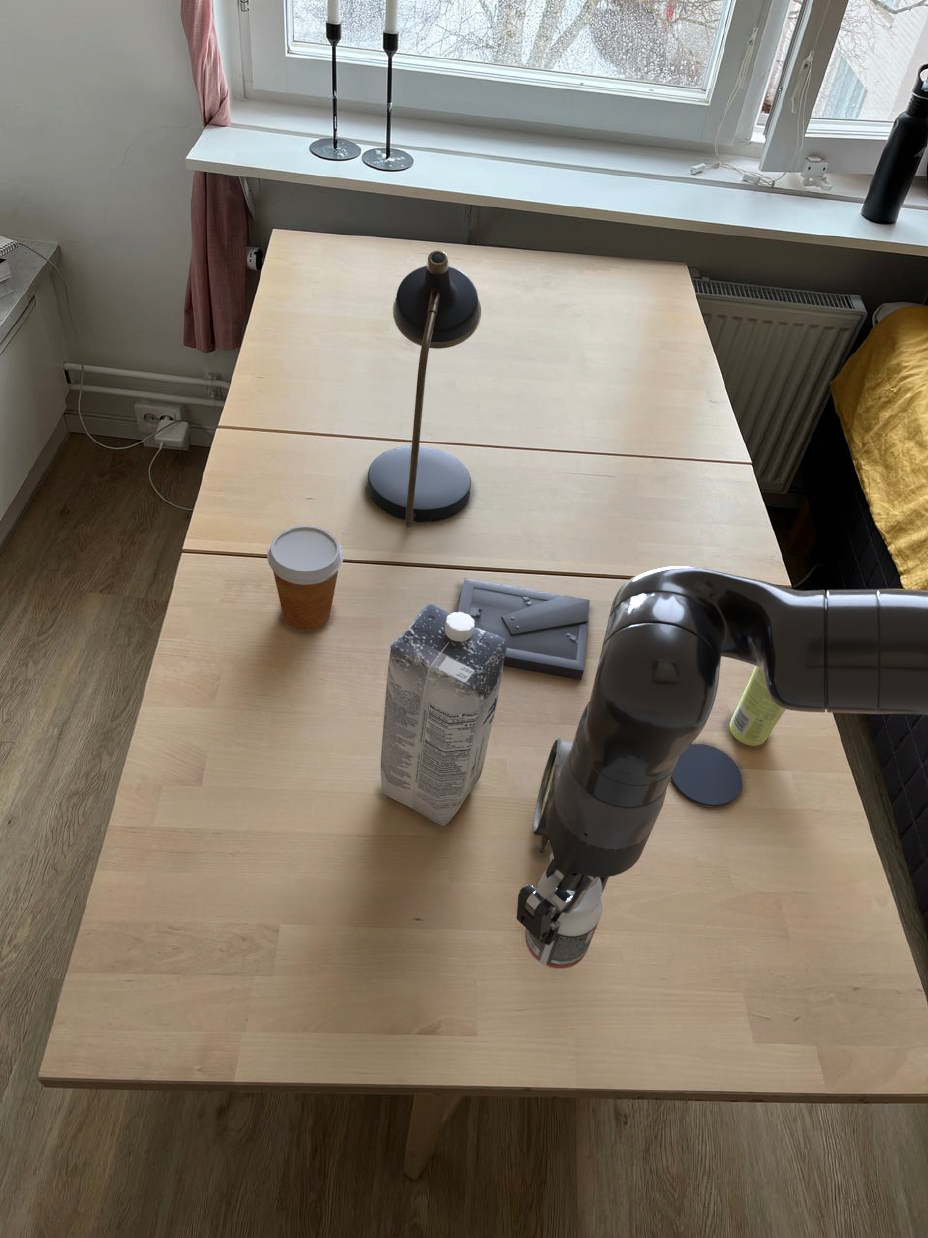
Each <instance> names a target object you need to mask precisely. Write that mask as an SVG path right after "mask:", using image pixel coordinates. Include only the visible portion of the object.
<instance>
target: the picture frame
mask: <svg viewBox="0 0 928 1238" xmlns="http://www.w3.org/2000/svg"><path fill="white" fill-rule="evenodd" d="M590 603H591V600H590V599H587V598H582V597H578V596H577V597H576V596H571V595H567V594H566V595H565V594H564V595H563V594H558V593H552V592H545V591H540V590H535V589H530V588H523V587H519V586H518V587H517V586H514V585H513V586H512V585H506V584H500V583H494V582H489V581H484V580H479V579H473V578H467V577H464V579H463V584H462V588H461V593H460V598H459V603H458V608H457V611H456V613H458V612H463V613H464V614H468V615H470V616H471V618H472V619H474V621H475V622H474V627H475V628H478V629H481V630H484V631H487V632H489V633H492V634H495V635H498V636H500V637H502V638H504V639H505V640H506V643H507V644H506V653H505V657H504V663H503V667H507V668H512V669H517V670H521V671H522V670H523V671H528V672H534V673H540V674H545V675H551V676H555V677H562V678H567V679H573V680H578V681H582V679H583V676H584V673H585V664H586V663H585V661H586V649H587V640H588V639H587V638H588V626H589V615H590Z"/></svg>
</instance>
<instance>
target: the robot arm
mask: <svg viewBox="0 0 928 1238" xmlns="http://www.w3.org/2000/svg"><path fill="white" fill-rule="evenodd" d="M722 657H723V658H729V659H733V660H736V661H740V662H743V663H747V664H750V665H753V666H754V667H755V666H758V667H759V668H761V670H762V671H763V675H764V680H765V684H766V688H767V690H768V693H769V695H770V697H771V698H772V700H773V701H774V702H775V703H776V704H777V705H778V706H780V707H782V708H785V709H786V710H789V711H795V712H803V713H825V712H827V713H828V714H862V715H864V714H865V715H900V716H903V715H905V716H927V717H928V590H923V589H922V590H921V589H911V588H910V589H909V588H908V589H907V588H863V589H862V588H859V589H857V588H854V589H853V588H849V589H827V590H825V589H811V590H810V589H809V590H807V589H806V590H804V589H803V590H802V589H801V590H800V589H795V588H791V587H786V586H782V585H778V584H775V583H771V582H768V581H765V580H760V579H756V578H750V577H746V576H741V575H736V574H731V573H727V572H723V571H717V570H713V569H708V568H704V567H696V566H688V565H687V566H686V565H673V566H672V565H671V566H663V567H657V568H653V569H650V570H646V571H644V572H641V573H639V574H637V575H635V576H633V577H631V578H629V579H628V580H627V581H625V582H624V583H623V584H622V585H621V586H620V588H619V589H618V590H617V592H616V594H615V596H614V598H613V600H612V602H611V606H610V611H609V614H608V620H607V625H606V630H605V634H604V638H603V642H602V645H601V651H600V655H599V660H598V664H597V669H596V673H595V677H594V682H593V684H592V685H593V686H592V690H591V693H590V694H591V695H590V699H589V701H588V702H587V704H586V706H585V707H584V709H583V712H582V714H581V716H580V719H579V721H578V724H577V727H576V730H575V733H574V734H575V735H574V738H573V741H572V742H573V744H572V748H571V751H570V752H569V754H568V756H567V758H566V760H565V762H564V764H563V766H562V769H561V772H560V776H559V779H558V783H557V786H556V789H555V793H554V796H553V800H552V803H551V806H550V810H549V813H548V817H547V822H546V832H547V837H548V843H549V846H550V849H551V853H550V855H549V863H548V864H547V866H546V868H545V869H544V872H543V873H542V875H541V877H540V879H538V881H537V888H536V887H535V886H533V885H530V884H526V885H524V886H523V887H521V889H520V890H519V893H518V895H517V907H516V921H518V922H519V923H520V924H521V925H522V926H523V927H524V928H525V930H526V929H527V930H528V931H529V932H530V933H531V934H532V935H533V936H534V937H535V938H536V939H537V940H538V941H539V942H540V943H541V944H543V943H545V944H546V945H550V944H551V943H552V942H553V941H554V940H555V938H556V935H557V933H558V930H559V927H560V925H561V922H562V920H563V918H564V917H565V915H566V913H567V914H568V913H570V912H572V911H573V910H574V909H576V908H577V907H578V906H579V904H580V903H581V901H582V900H583V898H584V896H585V895H586V893H587V891H588V890H589V889H590V888H591V887H593V886H594V885H595V884H596V883H597V881H598V880H599V878H600V880H601V883H602V893H603V892H604V890H605V888H606V885H607V883H608V880H609V878H610V877H616V876H618V875H621V874H623V873H625V872H627V871H629V870H630V869H631V868H632V867H634V866H635V864H636V863H637V862H639V859H640V858H641V856H642V854H643V851H644V849H645V847H646V845H647V842H648V840H649V838H650V835H651V833H652V832H653V829H654V826H655V824H656V822H657V820H658V817H659V815H660V814H661V811H662V809H663V805H664V802H665V799H666V795H667V794H666V793H667V790H668V789H667V788H668V787H669V783H670V781H671V777H672V774H673V772H674V770H675V768H676V765H677V763H678V760H679V757H680V755H682V754H683V753H684V752H685V750H686V749H687V748H688V747H689V746H690V745H691V744H693V742H694V741H696V739H697V738H698V737H699V735H700V734H701V733H702V731H703V729H704V728H705V726H706V724H707V722H708V720H709V717H710V715H711V713H712V710H713V708H714V705H715V704H714V703H715V702H716V697H717V693H718V688H719V681H720V671H721V663H722V662H721V661H722ZM568 892H575V893H574V895H573V896H571V895H570V894H569V893H568ZM550 900H552V901H553V902H554V903H555V904H556V905H557V906H558V910H557V912H556V911H554V910H555V909H556V907H555V906H554V905H553V904H552V903H551V902H550Z"/></svg>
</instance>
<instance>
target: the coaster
mask: <svg viewBox="0 0 928 1238" xmlns="http://www.w3.org/2000/svg"><path fill="white" fill-rule="evenodd" d="M670 781H671V782H672V784H673V786H674V788H676V790H677V791H678V792H679V793H680V794H681V795H682V796H683V797H685V798H686V799H688V800H690V802H693V803H695V804H698V805H700V806H703V807H711V808H715V807H716V808H717V807H724V806H726V805H729V804H731V803H732V802H734V801H735V800H736V799H737V798H738V796H739V795H740V793H741V791H742V788H743V775H742V772H741V770H740V768H739V766H738V765H737V763H736V762H735V760H734V759H732V757H730V756H729V754H727V753H726V752H724V751H723V750H721V749H719V748H717V747H715V746H712V745H709V744H705V743H691V745H690V746H689V747H688V748H687V749H686V750H685V752H684V753H683V754H682V755H680V757H679V760H678V763H677V765H676V768H675V770H674V772H673V774H672V777H671V779H670Z"/></svg>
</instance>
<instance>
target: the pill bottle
mask: <svg viewBox="0 0 928 1238" xmlns="http://www.w3.org/2000/svg"><path fill="white" fill-rule="evenodd" d="M568 893H569V894H570V895H571V896H573V895H574V893H575V892H568ZM602 894H603V892H602V883H601V880H600V878H599V880H598V881H597V883H596V884H595V885H594V886H593V887H591V888H590V889H589V890H588V891H587V893H586V895H585V896H584V898H583V900H582V901H581V903H580V904H579V906H578V907H577V908H576V909H574V910H573V911H572V912H570V913H568V914H567V913H566V915H565V917H564V918H563V920H562V922H561V925H560V927H559V930H558V933H557V935H556V938H555V940H554V941H553V942H552V943H551V944H550V945H546V944H545V943H543V944H541V943H540V942H539V941H538V940H537V939H536V938H535V937H534V936H533V935H532V934H531V933H530V932H529V931H528V930H527V929H526V928H525V931H524V940H525V945H526V948H527V950H528V952H529V953H530V955H531V956H532V957H533V958H534V960H535V961H537V962H538V963H540V964H541V965H542V966H545V967H546V968H549V969H552V970H566V969H570V968H572V967H574V966H576V965H578V964H579V963H580V962H581V961H582V960H583V959H584V957H585V956H586V954H587V953H588V950H589V947H590V944H591V942H592V939H593V937H594V935H595V932H596V930H597V928H598V925H599V922H600V920H601V916H602V911H603V902H602V897H603V895H602ZM550 902H551V903H552V904H553V905H554V906H555V907H556V909H555V910H554V911H556V912H557V910H558V906H557V905H556V904H555V903H554V902H553V901H552V900H550Z"/></svg>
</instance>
